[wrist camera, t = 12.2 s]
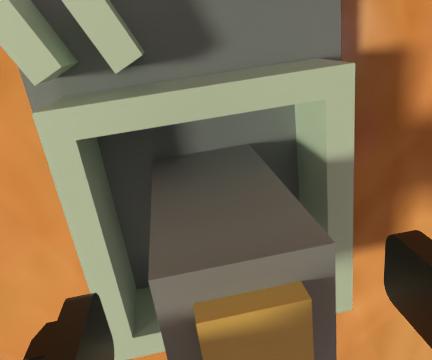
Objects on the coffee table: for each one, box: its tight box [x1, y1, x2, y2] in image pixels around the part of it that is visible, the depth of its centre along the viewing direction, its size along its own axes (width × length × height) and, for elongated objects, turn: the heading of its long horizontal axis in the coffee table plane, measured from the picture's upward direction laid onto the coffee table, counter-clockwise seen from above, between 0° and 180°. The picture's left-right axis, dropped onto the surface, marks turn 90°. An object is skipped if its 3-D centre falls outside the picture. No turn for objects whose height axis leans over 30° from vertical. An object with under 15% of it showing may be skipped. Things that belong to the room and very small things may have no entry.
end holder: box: [32, 58, 355, 360], centre depth 14 cm, size 10×10×3 cm
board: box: [0, 0, 341, 289], centre depth 13 cm, size 12×19×4 cm, turn 8°
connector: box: [148, 144, 336, 360], centre depth 12 cm, size 4×4×9 cm
